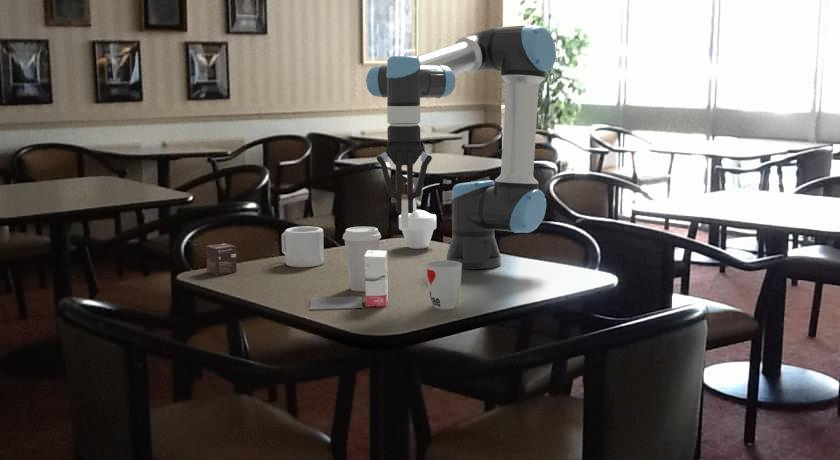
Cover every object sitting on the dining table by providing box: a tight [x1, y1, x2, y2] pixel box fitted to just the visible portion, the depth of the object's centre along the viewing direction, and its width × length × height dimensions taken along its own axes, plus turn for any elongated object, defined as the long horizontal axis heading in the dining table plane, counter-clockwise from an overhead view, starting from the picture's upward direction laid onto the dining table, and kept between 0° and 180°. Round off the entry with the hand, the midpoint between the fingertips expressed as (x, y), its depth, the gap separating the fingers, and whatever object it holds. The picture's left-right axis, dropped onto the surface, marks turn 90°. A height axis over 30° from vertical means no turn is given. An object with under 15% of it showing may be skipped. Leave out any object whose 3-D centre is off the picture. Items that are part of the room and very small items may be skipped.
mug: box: [281, 225, 325, 268], centre depth 272 cm, size 14×11×10 cm
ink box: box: [364, 249, 389, 308], centre depth 225 cm, size 9×5×12 cm, turn 178°
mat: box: [309, 295, 363, 311], centre depth 225 cm, size 12×11×1 cm
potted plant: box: [398, 174, 440, 250], centre depth 293 cm, size 13×12×25 cm
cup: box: [426, 260, 463, 310], centre depth 220 cm, size 8×8×10 cm
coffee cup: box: [342, 226, 382, 292], centre depth 239 cm, size 10×10×15 cm
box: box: [205, 243, 238, 276], centre depth 262 cm, size 6×6×7 cm
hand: (404, 227), depth 223 cm, fingers closed
